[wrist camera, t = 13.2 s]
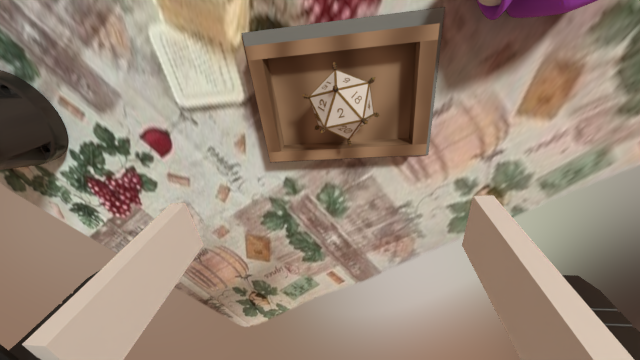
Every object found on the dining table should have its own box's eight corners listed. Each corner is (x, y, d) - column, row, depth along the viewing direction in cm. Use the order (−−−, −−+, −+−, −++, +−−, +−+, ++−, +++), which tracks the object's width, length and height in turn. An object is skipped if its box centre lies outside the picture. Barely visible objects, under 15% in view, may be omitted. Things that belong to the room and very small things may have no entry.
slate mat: (270, 161, 41) (270, 162, 41) (242, 33, 32) (241, 33, 32) (427, 153, 38) (428, 154, 37) (443, 7, 29) (444, 7, 28)
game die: (358, 90, 37) (407, 119, 30) (316, 133, 38) (356, 170, 31) (327, 39, 30) (383, 61, 24) (277, 92, 31) (318, 128, 24)
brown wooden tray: (276, 152, 40) (270, 162, 37) (254, 45, 33) (244, 46, 30) (419, 144, 37) (425, 154, 34) (430, 24, 30) (439, 23, 27)
